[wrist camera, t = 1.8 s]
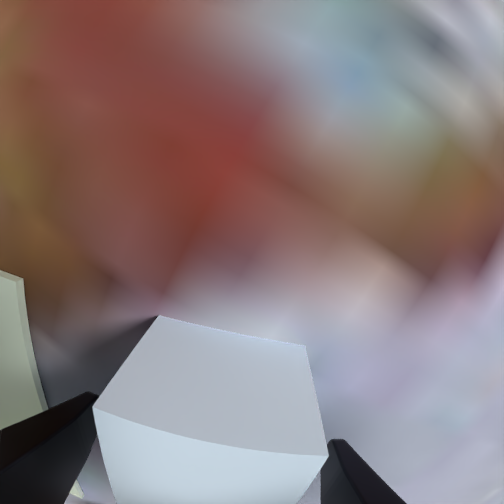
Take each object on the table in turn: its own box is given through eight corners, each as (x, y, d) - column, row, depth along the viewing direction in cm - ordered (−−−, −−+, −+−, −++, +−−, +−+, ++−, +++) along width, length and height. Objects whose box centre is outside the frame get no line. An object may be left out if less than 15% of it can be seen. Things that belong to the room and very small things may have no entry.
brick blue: (258, 467, 9) (254, 553, 5) (155, 446, 9) (124, 526, 5) (304, 342, 8) (328, 455, 4) (160, 313, 8) (92, 407, 4)
